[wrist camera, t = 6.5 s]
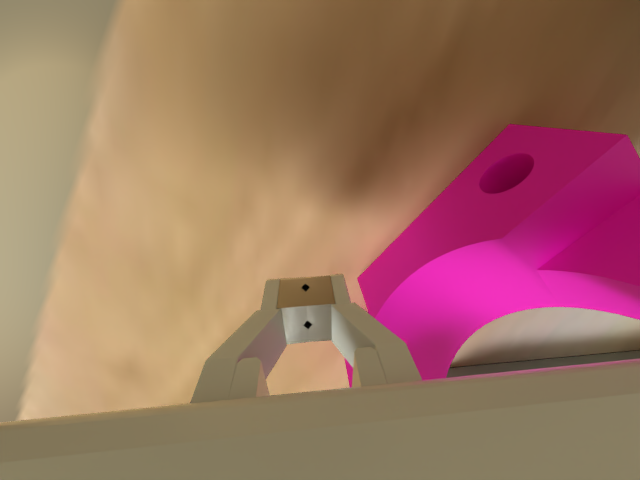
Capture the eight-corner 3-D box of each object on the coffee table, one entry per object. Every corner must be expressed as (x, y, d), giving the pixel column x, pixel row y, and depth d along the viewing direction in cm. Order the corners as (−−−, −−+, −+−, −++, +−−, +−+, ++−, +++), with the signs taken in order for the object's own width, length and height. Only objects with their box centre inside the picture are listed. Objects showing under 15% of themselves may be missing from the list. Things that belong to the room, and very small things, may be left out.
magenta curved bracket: (506, 123, 11) (836, 153, 4) (566, 199, 13) (842, 297, 6) (311, 322, 16) (321, 470, 9) (377, 351, 18) (421, 488, 12)
